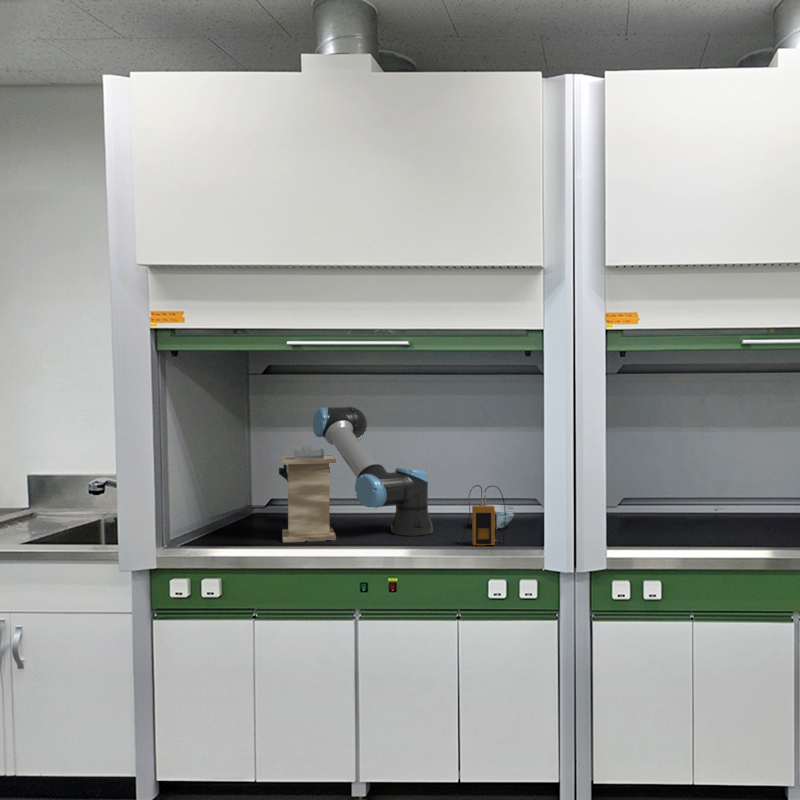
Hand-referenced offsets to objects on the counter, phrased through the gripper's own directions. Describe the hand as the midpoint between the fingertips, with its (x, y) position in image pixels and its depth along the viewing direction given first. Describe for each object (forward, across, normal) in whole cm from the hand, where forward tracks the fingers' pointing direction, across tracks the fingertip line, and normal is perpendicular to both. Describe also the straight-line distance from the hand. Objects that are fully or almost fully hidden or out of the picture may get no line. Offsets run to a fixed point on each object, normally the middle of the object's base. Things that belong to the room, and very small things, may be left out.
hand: (305, 462), depth 261 cm
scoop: (+19, 0, -6) cm, 20 cm away
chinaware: (+8, -70, -33) cm, 77 cm away
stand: (+10, 0, -34) cm, 35 cm away
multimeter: (+29, -58, -45) cm, 78 cm away
